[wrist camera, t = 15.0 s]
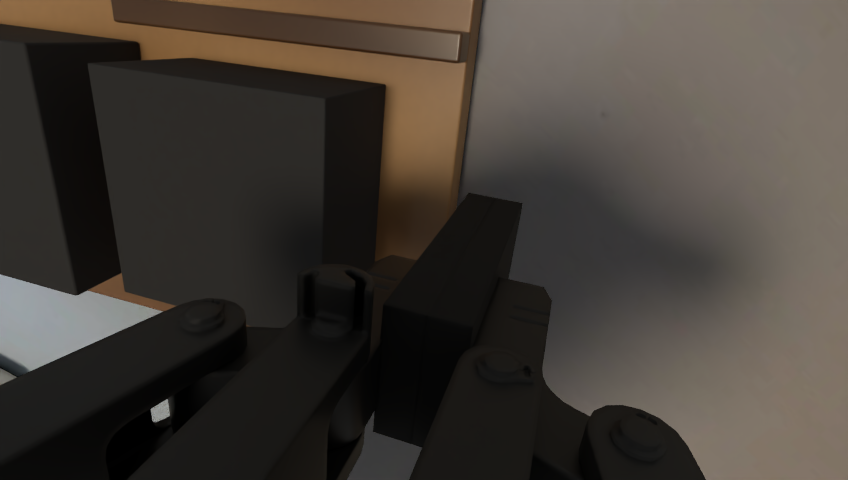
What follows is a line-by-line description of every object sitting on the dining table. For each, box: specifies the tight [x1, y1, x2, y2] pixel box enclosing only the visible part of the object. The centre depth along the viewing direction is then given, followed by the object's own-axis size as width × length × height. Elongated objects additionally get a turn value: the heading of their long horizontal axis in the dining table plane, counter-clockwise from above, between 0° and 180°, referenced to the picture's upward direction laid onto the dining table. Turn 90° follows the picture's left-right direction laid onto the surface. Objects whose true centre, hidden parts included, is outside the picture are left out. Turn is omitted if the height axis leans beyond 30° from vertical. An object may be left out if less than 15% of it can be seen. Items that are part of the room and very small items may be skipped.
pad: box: [0, 24, 141, 295], centre depth 18 cm, size 8×8×4 cm
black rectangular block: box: [88, 58, 386, 328], centre depth 16 cm, size 7×7×4 cm
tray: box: [0, 0, 483, 327], centre depth 19 cm, size 14×20×2 cm
